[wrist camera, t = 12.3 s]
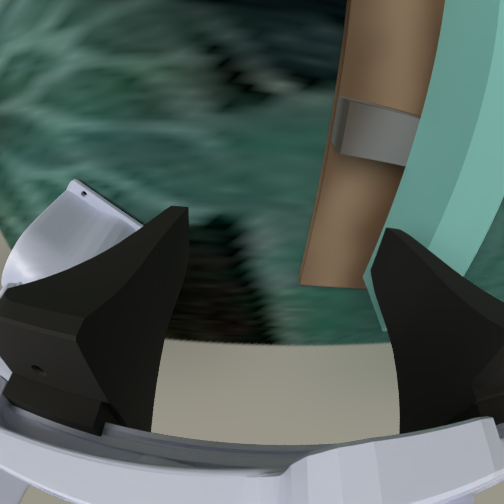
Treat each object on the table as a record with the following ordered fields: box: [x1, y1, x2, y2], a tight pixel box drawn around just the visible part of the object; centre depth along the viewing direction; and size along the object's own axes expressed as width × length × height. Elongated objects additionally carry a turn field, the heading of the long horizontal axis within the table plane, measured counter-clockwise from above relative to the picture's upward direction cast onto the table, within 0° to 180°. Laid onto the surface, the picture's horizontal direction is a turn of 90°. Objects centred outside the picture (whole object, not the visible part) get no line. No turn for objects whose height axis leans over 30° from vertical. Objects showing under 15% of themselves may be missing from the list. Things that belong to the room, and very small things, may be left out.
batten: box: [363, 0, 504, 331], centre depth 13 cm, size 20×4×5 cm, turn 171°
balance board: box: [299, 0, 445, 289], centre depth 17 cm, size 12×26×4 cm, turn 175°
